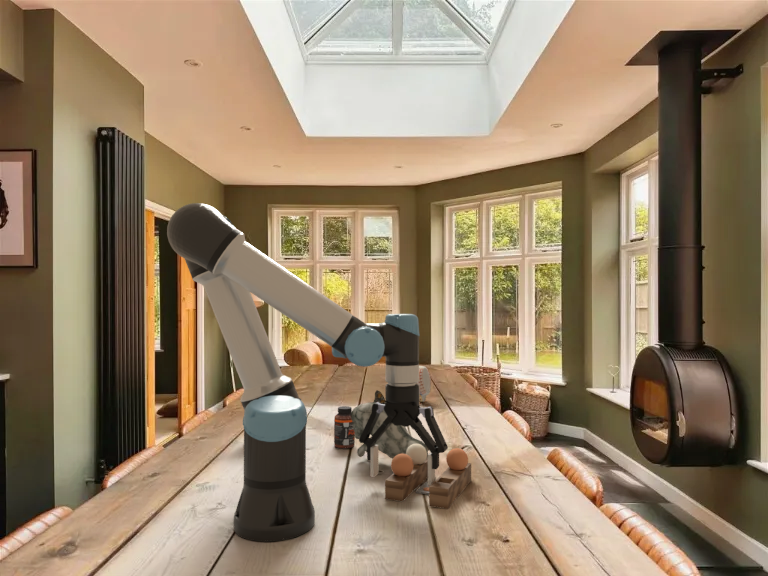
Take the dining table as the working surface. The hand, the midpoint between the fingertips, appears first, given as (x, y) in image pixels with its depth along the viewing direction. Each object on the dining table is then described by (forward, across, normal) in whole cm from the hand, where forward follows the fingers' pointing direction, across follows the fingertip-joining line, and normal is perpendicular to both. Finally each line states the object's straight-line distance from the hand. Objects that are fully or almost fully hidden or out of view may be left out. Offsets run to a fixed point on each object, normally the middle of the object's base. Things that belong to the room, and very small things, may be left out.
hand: (402, 479), depth 121 cm
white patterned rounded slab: (+3, +31, -99) cm, 104 cm away
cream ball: (-3, 0, -9) cm, 10 cm away
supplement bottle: (+3, +29, -28) cm, 40 cm away
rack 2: (+3, -10, -4) cm, 11 cm away
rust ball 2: (-3, -10, -9) cm, 14 cm away
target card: (+3, -5, -4) cm, 7 cm away
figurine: (+2, +11, -18) cm, 21 cm away
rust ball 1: (-3, 0, 0) cm, 3 cm away
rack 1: (+3, 0, -4) cm, 5 cm away
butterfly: (+3, +31, -60) cm, 67 cm away
